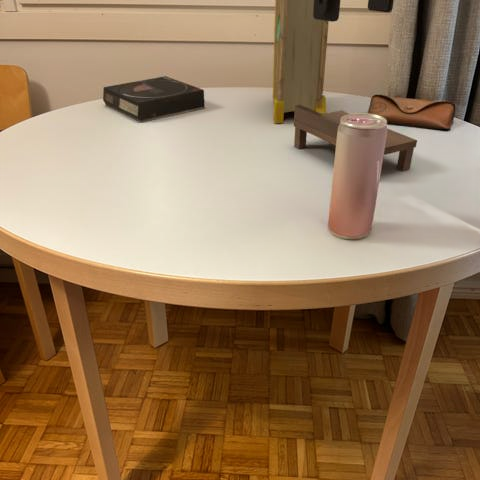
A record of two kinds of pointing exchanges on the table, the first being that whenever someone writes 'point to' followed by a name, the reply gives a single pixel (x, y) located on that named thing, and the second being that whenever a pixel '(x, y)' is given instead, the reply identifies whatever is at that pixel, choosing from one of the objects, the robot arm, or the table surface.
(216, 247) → the table surface
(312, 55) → the decorative book
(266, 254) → the table surface
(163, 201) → the table surface
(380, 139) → the beverage can
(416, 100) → the sunglasses case
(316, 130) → the wooden step stool
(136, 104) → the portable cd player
